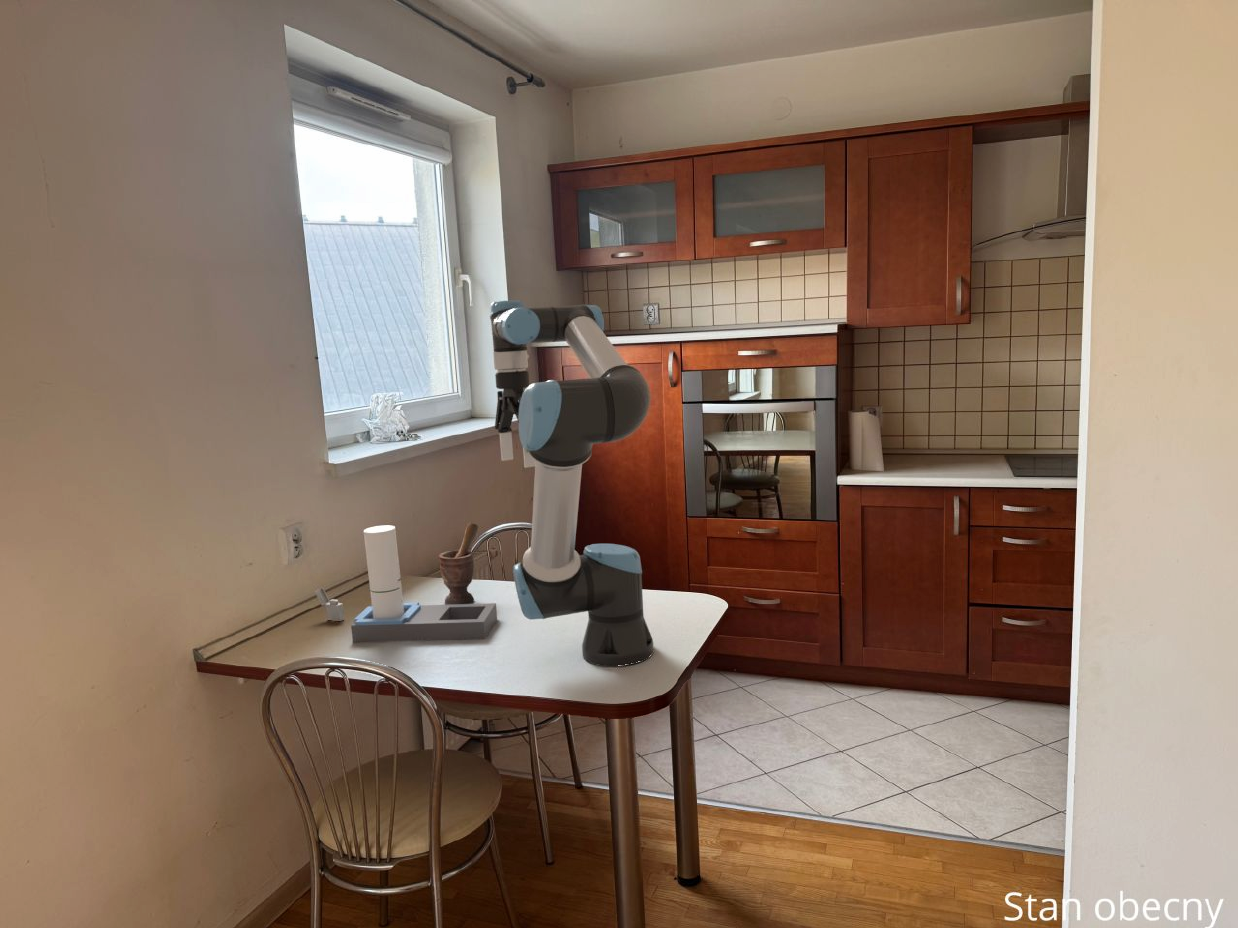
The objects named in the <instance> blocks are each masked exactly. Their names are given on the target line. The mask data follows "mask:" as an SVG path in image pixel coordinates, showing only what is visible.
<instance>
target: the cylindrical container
mask: <svg viewBox="0 0 1238 928" xmlns="http://www.w3.org/2000/svg"><path fill="white" fill-rule="evenodd" d="M396 532H397V531H396V526H394V525H388V524H387V525H385V524H384V525H375V526H371V527H367V528H365V529H364V530H363V538H364V547H365V549H364V550H365V555H366V556H365V557H366V564H367V565H366V567H367V572H368V573H367V574H368V582H369V590H370V601H371V606H372V611H373V619H379V618H401V617H402V616H403V614H404V606H403V603H404V599H403V586H402V580H401V579H402V578H401V571H400V568H401V567H400V559H399V549H398V540H397V539H398V538H397V533H396Z"/></svg>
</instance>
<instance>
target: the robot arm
mask: <svg viewBox="0 0 1238 928" xmlns="http://www.w3.org/2000/svg"><path fill="white" fill-rule="evenodd" d="M602 313H603V312H602V309H601V308H600V307H599V306H598V305H596V304H593V305H592V304H577V305H574V304H573V305H560V306H540V307H539V306H538V307H537V306H536V307H535V306H534V307H525V306H524V303H523V302H522V300H499V301H494V302H492V303H491V304H490V316H489V319H490V324H491V325H490V326H491V332H492V333H491V334H492V347H493V348H492V349H493V352H492V353H493V355H492V356H493V365H494V370H496V372H495V387H496V388H497V389H499V390H498V391H497V393H496V395H497V403H496V410H495V411H496V412H495V421H494V429H495V430H497V431H498V433H499V445H500V446H499V447H500V458H501V462H503V461H504V462H505V461H512V460H514V450H513V448H514V447H513V437H512V434H513V433H512V432H513V430H512V428H511V426H512V424H513V423H512V422H513V418H514V416H515V417H516V419H517V422H518V436H519V441H520V444H521V445H522V454H523V455H522V456H523V467H524V468H526V469H527V468H532V467H533V468H534V480H533V481H534V482H533V483H534V484H533V500H532V521H531V523H532V524H531V540H530V541H531V542H530V547H529V548H527V549H526V551H525V552H524V554H523V555H522V556H523V557H522V562H518V563H516V564H514V565H513V567H512V574H513V580H514V586H515V590H516V595H517V599H518V602H519V605H520V610H521V612H522V614H523V616H524V617H525V618H526V619H528V620H546V619H549V618H551V619H552V618H555V617H561V616H562V617H563V616H566V615H567V616H568V615H573V614H579V613H585V612H588V615H587V616H588V621H587V625H586V629H585V633H584V637H583V640H582V644H581V645H582V646H581V650H582V658H583V659H584V660H586V661H587V662H588V663H590V662H591V664H593V663H594V664H593V665H596V664H598V665H597V666H602V665H606V666H605V667H619V666H618V665H625V664H631V663H636V662H638V661H642V660H644V659H646V658H648V657H649V656H650V655H651V654H652V653H653V654H654V652H653V651H654V640H653V636H652V634H651V632H650V629H649V627H648V624H647V621H646V620H645V617H644V615H645V614H644V600H643V577H642V575H643V570H642V563H641V556H640V554H639V552H638V551H637V550H636V549H635V548H632V547H630V546H626V545H623V544H615V543H592V544H590V545H589V544H588V545H586V546H585V547H584V550H583V554H581V555H580V554H579V552H578V551H576V550H575V547H576V537H577V536H576V534H577V526H578V517H579V516H578V512H579V502H580V492H581V483H582V482H581V480H582V470H583V469H582V468H583V464H584V463H586V462H588V461H589V460H590V458H591V457H592V452H593V445H596V444H602V443H603V444H605V443H606V444H607V443H614V442H618V441H622V440H624V439H626V438H628V437H629V436H631V435H632V434H634V433H635V432H636V431H637V430H638V429H639V428H640V427H641V426H642V425H643V423H644V421H645V420H646V418H647V416H648V413H649V411H650V408H651V407H650V405H651V391H650V387H649V384H648V382H647V380H646V379H645V377H644V376H643V374H642V373H641V372H640V370H638V369H637V368H636V367H634V366H632V365H630V364H628V363H627V362H626V361H625V359H624V358H623V357H622V355H621V354H620V353H619V351H618V350H617V349H616V348H615V347H614V344H613V343H612V342H611V341H610V339H609V338H608V337H607V336H606V334H605V333H604V329H605V321H604V315H603V314H602ZM561 342H566V343H567V345H568V347H569V348H570V349H571V351H572V352H573V354H574V356H575V357H576V358H577V360H578V362H579V364H580V365H581V367H582V368H583V370H584V371H585V373H586V374H587V376H588V378H577V379H568V380H567V379H564V380H556V379H549V380H547V381H542V382H541V381H540V382H534V383H531V384H530V372H529V371H528V370H526V369H528V367H529V362H528V361H529V358H530V355H529V354H528V347H527V345H528V344H539V343H541V344H542V343H561ZM653 654H652V655H653ZM649 658H650V657H649ZM649 658H648V659H649ZM646 660H647V659H646ZM644 661H645V660H644ZM642 662H643V661H642ZM636 664H637V663H636Z"/></svg>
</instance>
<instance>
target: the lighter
mask: <svg viewBox="0 0 1238 928" xmlns="http://www.w3.org/2000/svg"><path fill="white" fill-rule="evenodd" d="M314 592H315V594H316V597H317V598H318V601H319V603H320V605H321V606H325V608H326V609H325V610H326V617H327V621H328V620H335V621H342V620H344V621H345V614H344V604H343V603H342V602H339V600H338V599H335V598H332V599H329V597H328V594H327V592H326V591H325V588H324V587H321V588H318V589H317V590H315V591H314ZM342 622H343V621H342Z"/></svg>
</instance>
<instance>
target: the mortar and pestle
mask: <svg viewBox="0 0 1238 928" xmlns="http://www.w3.org/2000/svg"><path fill="white" fill-rule="evenodd" d="M478 529H479V526H478V525H477V524H476V523H473V522H469V523H468V524H467V525H466V528H465V531H464V536H463V537H462V538H463V539H462V543H461V546H460V548H459V549H455V550H448V551H444V552H441V553H440V554H439V555H438V560H439V570H440V571H439V572H440V576H441V578H442V580H443V584H444V586H446V588H448V590H449V593H448V595H446V596H445V598H444V605H452V604H473V602H474V601H475V598H474V596H473V594H472V593H470V592H469V591H468V587H469V586H470V585H471V583H472V581H473V577H474V568H475V566H474V565H475V564H474V552H472V551H471V550H469V549H470V547H471V544H472V543H473V540H474V539H475V538H476V535H477V533H478Z"/></svg>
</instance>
